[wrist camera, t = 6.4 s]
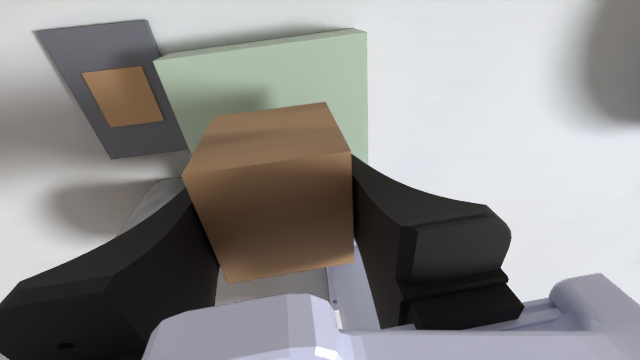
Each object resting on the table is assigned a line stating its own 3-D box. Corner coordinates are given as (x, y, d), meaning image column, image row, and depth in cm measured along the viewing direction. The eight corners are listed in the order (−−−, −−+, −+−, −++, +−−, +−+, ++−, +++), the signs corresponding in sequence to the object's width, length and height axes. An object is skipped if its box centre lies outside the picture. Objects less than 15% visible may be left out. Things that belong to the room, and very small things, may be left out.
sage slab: (357, 175, 21) (368, 198, 19) (226, 196, 20) (220, 223, 18) (352, 27, 16) (366, 32, 13) (173, 51, 15) (152, 61, 12)
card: (194, 146, 18) (193, 148, 17) (113, 157, 17) (110, 160, 17) (147, 19, 14) (144, 20, 13) (41, 30, 13) (35, 31, 13)
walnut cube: (332, 191, 15) (354, 262, 11) (241, 205, 15) (228, 283, 11) (325, 101, 12) (351, 150, 8) (213, 116, 12) (180, 175, 8)
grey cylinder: (224, 230, 22) (211, 284, 17) (156, 234, 21) (126, 291, 17) (212, 176, 19) (194, 225, 15) (134, 179, 18) (92, 231, 14)
